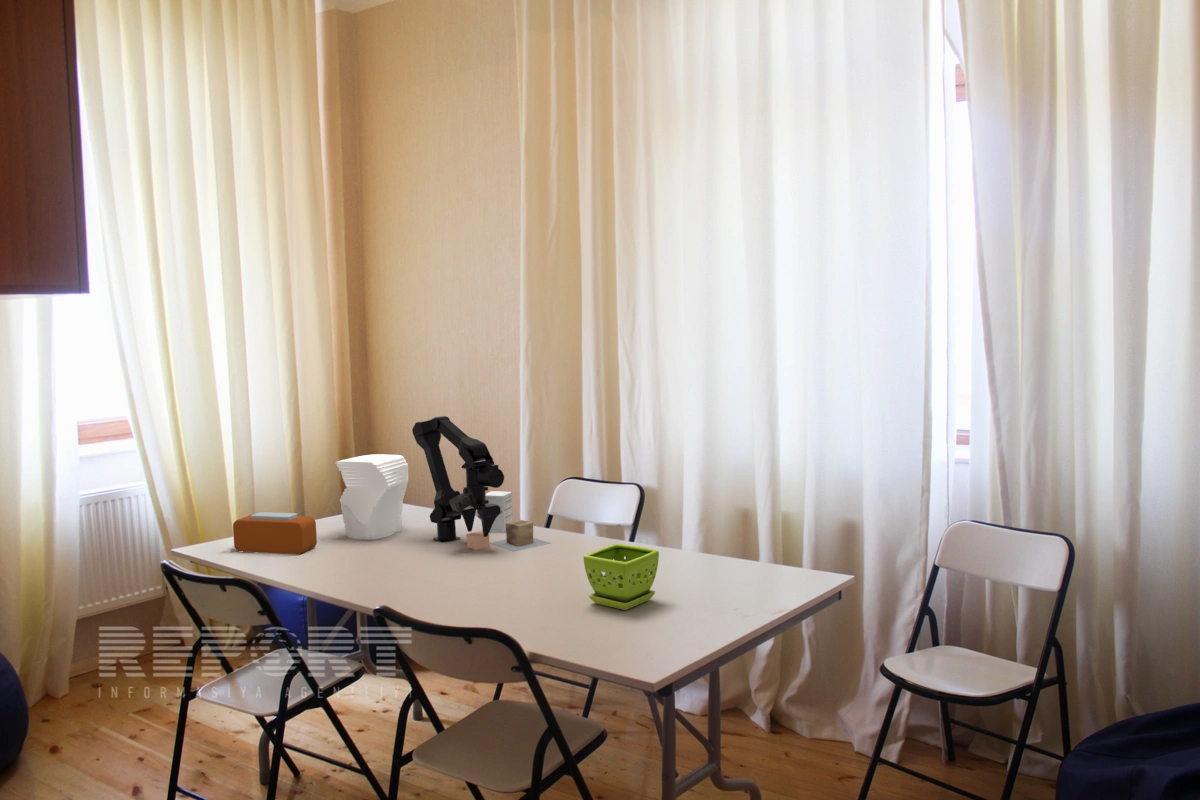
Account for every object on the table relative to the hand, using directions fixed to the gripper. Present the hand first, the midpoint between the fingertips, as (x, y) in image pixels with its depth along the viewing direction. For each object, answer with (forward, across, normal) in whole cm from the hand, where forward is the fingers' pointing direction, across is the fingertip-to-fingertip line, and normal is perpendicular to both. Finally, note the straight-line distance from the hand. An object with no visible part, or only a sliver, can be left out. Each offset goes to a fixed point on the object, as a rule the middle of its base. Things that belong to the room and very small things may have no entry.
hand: (477, 534), depth 285 cm
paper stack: (+5, -39, -13) cm, 41 cm away
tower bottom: (+4, +5, +12) cm, 14 cm away
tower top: (+1, +5, +12) cm, 13 cm away
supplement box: (+5, -15, +17) cm, 23 cm away
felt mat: (+4, +5, +12) cm, 14 cm away
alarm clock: (+5, -43, -47) cm, 64 cm away
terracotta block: (+4, 0, 0) cm, 5 cm away
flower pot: (+4, +71, -2) cm, 71 cm away
